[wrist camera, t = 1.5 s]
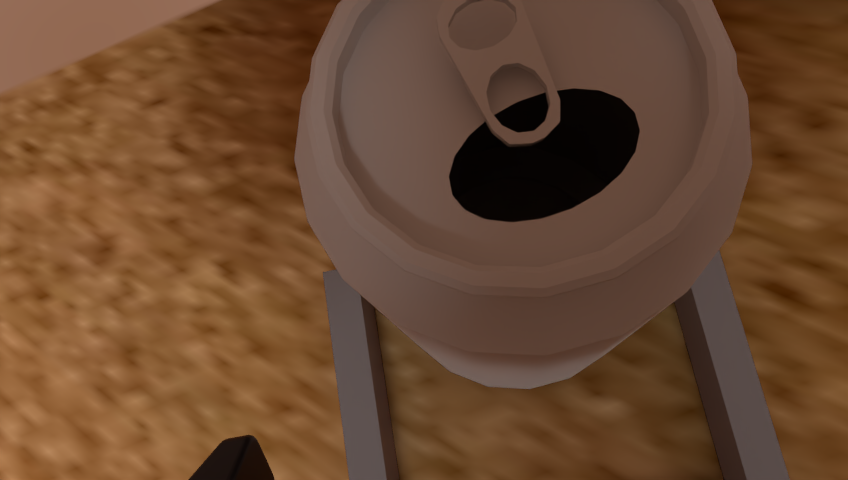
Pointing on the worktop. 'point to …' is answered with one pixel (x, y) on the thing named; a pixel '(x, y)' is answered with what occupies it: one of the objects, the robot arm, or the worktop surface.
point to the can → (522, 170)
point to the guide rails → (705, 339)
